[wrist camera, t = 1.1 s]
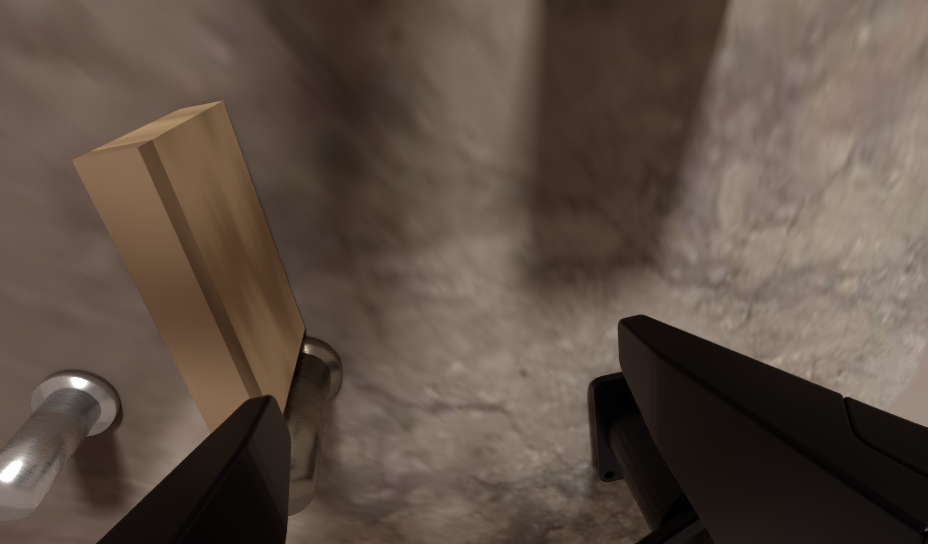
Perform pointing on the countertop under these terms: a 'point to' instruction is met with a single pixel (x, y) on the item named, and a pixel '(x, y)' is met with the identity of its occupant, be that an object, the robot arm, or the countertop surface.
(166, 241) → the gate
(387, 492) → the countertop surface
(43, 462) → the post
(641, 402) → the robot arm
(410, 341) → the countertop surface
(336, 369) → the hinge post
